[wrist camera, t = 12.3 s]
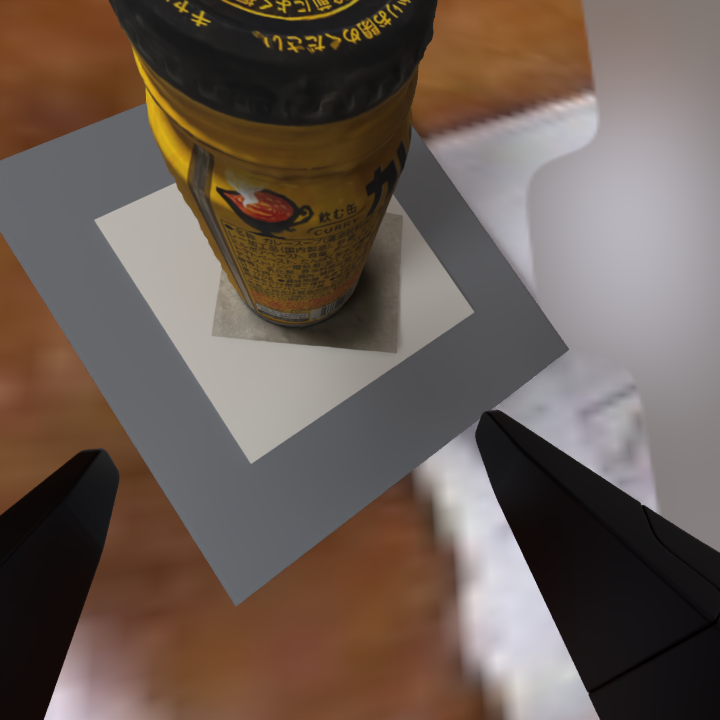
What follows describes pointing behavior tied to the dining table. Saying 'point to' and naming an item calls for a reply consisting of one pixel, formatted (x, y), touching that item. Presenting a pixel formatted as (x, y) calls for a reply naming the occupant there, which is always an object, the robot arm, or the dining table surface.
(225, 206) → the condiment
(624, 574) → the robot arm
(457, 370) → the grey square board
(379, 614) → the dining table surface
